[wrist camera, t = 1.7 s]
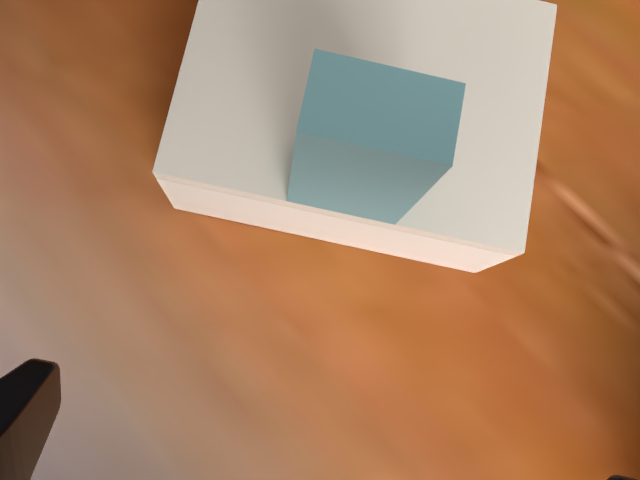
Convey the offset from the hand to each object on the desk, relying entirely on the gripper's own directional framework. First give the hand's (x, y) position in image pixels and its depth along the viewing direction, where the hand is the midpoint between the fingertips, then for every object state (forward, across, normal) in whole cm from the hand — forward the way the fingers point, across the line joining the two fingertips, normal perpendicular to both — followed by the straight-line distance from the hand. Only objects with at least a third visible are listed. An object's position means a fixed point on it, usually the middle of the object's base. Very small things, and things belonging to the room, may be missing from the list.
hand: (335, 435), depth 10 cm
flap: (+14, 0, -1) cm, 14 cm away
